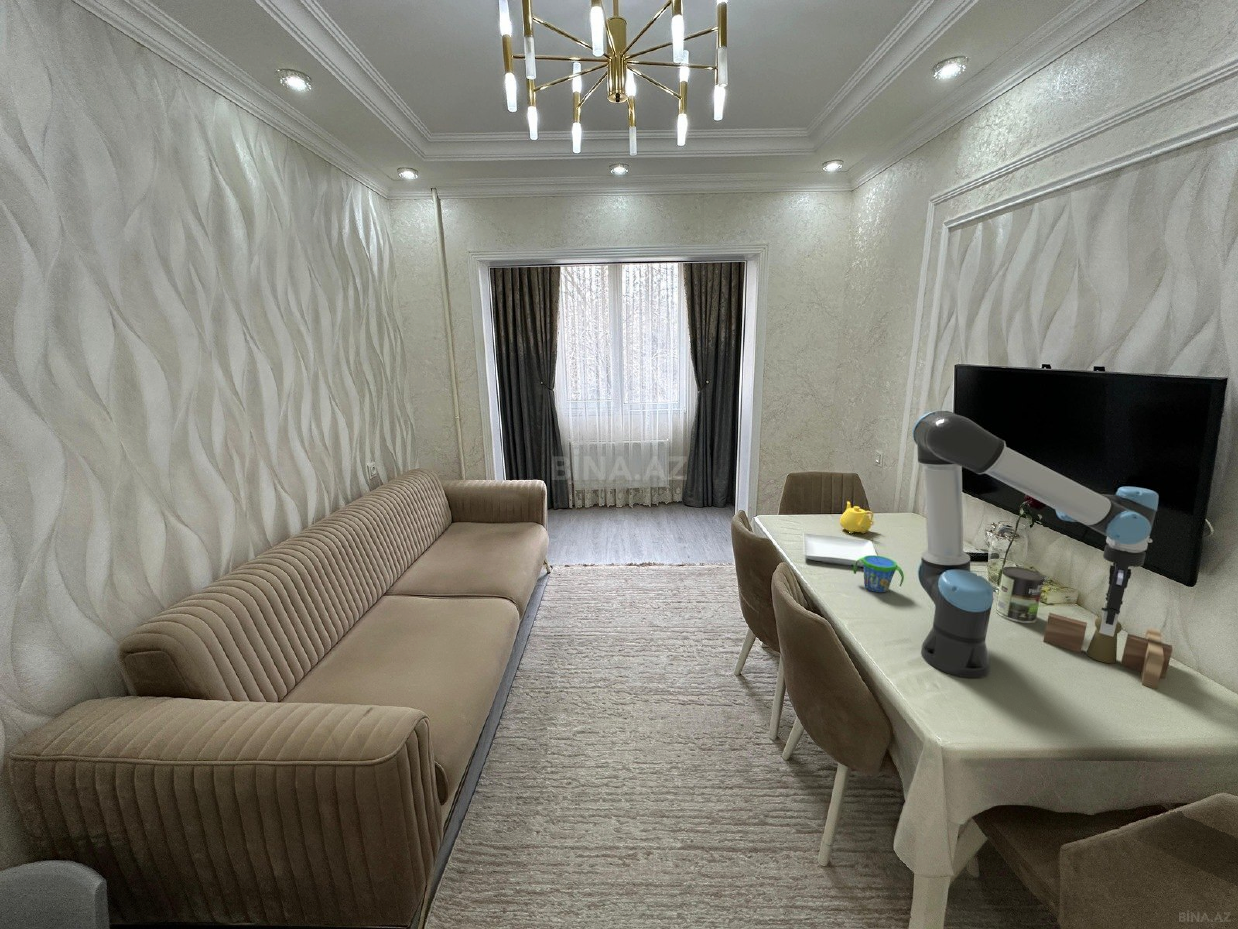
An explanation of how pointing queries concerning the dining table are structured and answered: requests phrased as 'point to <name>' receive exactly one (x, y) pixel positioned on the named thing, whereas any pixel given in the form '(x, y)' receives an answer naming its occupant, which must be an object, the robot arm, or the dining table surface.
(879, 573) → the snack cup
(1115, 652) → the cork
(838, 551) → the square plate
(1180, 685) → the dining table surface
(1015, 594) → the coffee can
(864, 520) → the teapot
